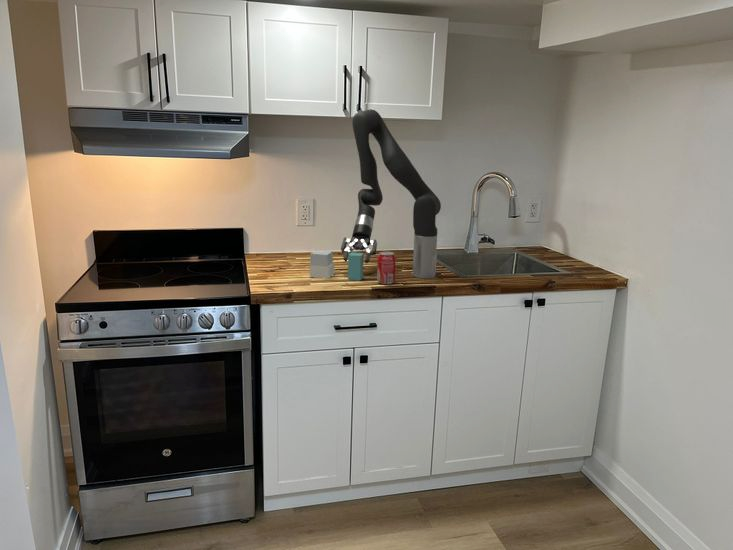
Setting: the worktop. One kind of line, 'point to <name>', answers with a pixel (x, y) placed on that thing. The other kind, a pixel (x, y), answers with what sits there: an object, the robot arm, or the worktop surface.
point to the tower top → (321, 258)
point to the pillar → (355, 266)
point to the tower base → (322, 271)
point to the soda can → (386, 267)
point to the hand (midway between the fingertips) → (355, 261)
